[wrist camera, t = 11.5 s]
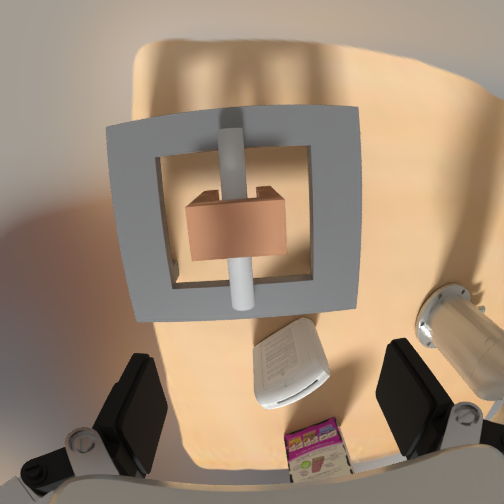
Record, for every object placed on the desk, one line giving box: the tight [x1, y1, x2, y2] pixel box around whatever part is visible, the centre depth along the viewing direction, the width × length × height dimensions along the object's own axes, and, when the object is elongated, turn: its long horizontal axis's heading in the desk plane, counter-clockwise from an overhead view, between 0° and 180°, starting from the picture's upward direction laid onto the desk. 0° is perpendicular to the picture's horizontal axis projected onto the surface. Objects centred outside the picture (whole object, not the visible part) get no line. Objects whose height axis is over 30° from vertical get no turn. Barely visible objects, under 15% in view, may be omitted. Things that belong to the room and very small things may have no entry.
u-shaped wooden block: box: [185, 186, 287, 261], centre depth 26 cm, size 7×4×11 cm, turn 94°
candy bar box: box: [284, 417, 355, 483], centre depth 43 cm, size 11×5×16 cm, turn 116°
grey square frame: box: [106, 105, 362, 322], centre depth 30 cm, size 22×19×14 cm
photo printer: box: [253, 317, 331, 409], centre depth 37 cm, size 10×4×12 cm, turn 127°
